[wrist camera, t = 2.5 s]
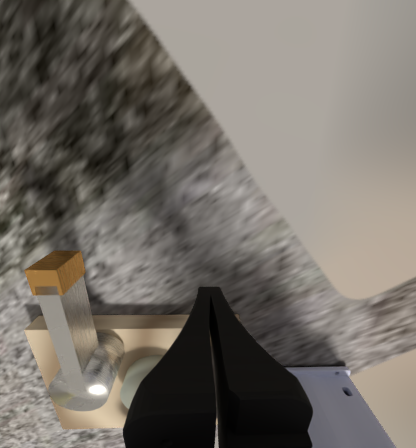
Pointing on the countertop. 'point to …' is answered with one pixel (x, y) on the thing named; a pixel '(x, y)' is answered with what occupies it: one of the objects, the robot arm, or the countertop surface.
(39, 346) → the base
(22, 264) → the countertop surface
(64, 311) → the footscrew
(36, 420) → the countertop surface
